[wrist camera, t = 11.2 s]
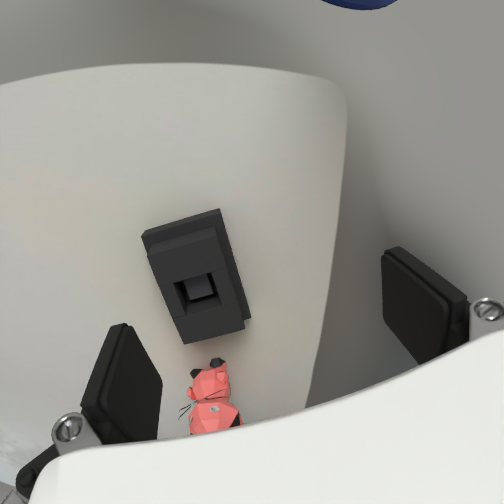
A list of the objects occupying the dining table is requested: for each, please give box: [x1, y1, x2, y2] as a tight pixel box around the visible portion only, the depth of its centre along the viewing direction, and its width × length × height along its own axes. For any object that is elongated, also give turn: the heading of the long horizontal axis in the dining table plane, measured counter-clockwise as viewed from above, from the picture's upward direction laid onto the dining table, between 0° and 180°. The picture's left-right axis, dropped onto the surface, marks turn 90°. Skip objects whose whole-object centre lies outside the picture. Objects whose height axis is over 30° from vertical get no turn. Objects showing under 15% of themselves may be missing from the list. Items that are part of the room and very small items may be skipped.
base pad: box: [141, 208, 251, 320], centre depth 31 cm, size 12×8×4 cm, turn 14°
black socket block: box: [147, 226, 245, 345], centre depth 30 cm, size 10×6×3 cm, turn 14°
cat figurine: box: [178, 358, 243, 435], centre depth 32 cm, size 7×7×12 cm
